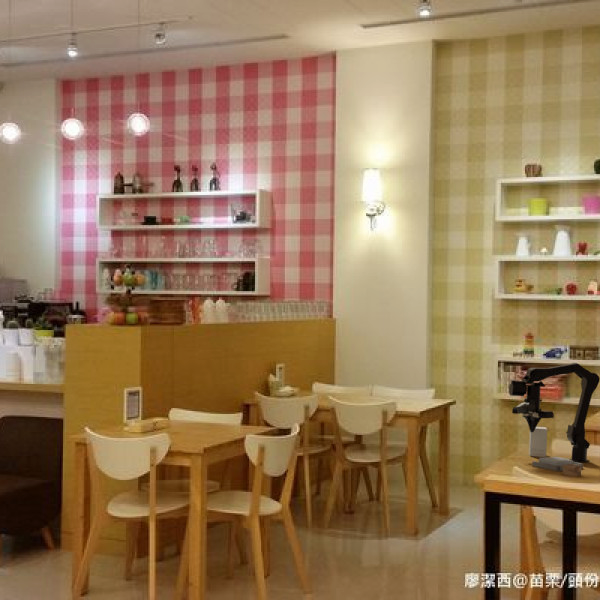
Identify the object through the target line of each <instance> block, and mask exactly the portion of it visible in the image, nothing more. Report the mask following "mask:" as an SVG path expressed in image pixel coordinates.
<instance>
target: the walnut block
mask: <svg viewBox="0 0 600 600" xmlns="http://www.w3.org/2000/svg"><path fill="white" fill-rule="evenodd" d="M562 475H564V476H567V477H568V476H569V477H579V476H580V477H581V476H582V469H581V466H579V465H574V464H566V465H563V471H562Z"/></svg>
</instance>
